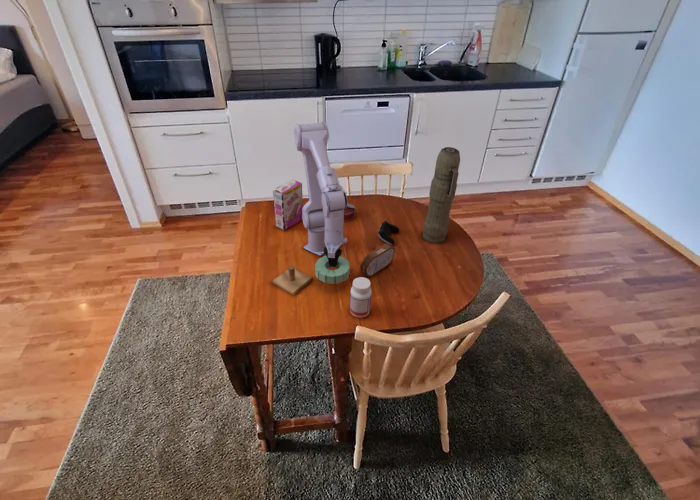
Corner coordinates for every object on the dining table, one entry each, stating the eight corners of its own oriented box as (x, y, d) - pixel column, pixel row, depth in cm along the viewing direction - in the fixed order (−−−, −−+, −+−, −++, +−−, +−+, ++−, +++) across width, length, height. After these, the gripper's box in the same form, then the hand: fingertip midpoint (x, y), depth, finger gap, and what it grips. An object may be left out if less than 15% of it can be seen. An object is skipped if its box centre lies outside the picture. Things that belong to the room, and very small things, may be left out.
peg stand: (291, 269, 133) (290, 255, 130) (311, 280, 129) (311, 265, 126) (272, 283, 127) (270, 269, 123) (293, 295, 123) (292, 280, 119)
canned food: (332, 221, 167) (329, 197, 165) (355, 218, 167) (352, 194, 166) (332, 223, 156) (329, 198, 154) (357, 220, 156) (354, 194, 155)
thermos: (434, 226, 157) (450, 141, 137) (452, 242, 149) (472, 154, 128) (415, 231, 154) (428, 145, 133) (433, 247, 146) (450, 158, 125)
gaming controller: (392, 234, 156) (380, 222, 154) (400, 229, 153) (389, 216, 151) (386, 249, 147) (374, 236, 145) (395, 244, 145) (383, 230, 143)
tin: (388, 258, 140) (390, 238, 135) (395, 262, 138) (397, 242, 133) (358, 277, 131) (359, 256, 126) (365, 281, 129) (367, 261, 124)
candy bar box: (284, 231, 151) (281, 193, 142) (275, 227, 154) (271, 189, 144) (304, 219, 159) (302, 182, 149) (294, 215, 161) (292, 178, 151)
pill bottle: (359, 300, 122) (360, 272, 115) (374, 311, 119) (377, 282, 112) (345, 311, 118) (346, 282, 111) (360, 321, 115) (362, 293, 108)
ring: (329, 258, 132) (329, 250, 130) (356, 270, 127) (356, 263, 125) (308, 274, 124) (308, 267, 122) (336, 288, 120) (336, 281, 118)
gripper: (345, 241, 113) (344, 277, 122) (349, 215, 125) (348, 249, 133) (320, 239, 114) (321, 275, 122) (327, 213, 125) (327, 248, 134)
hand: (333, 262), depth 128 cm, fingers closed on ring, 3 cm apart
